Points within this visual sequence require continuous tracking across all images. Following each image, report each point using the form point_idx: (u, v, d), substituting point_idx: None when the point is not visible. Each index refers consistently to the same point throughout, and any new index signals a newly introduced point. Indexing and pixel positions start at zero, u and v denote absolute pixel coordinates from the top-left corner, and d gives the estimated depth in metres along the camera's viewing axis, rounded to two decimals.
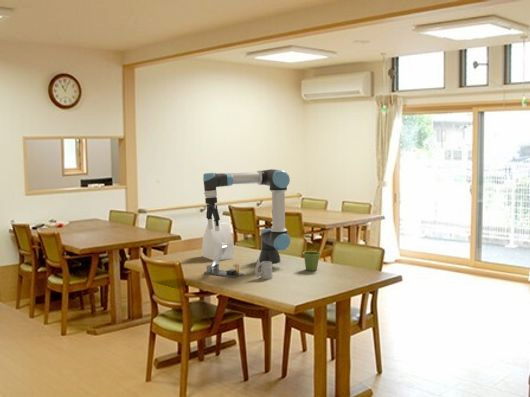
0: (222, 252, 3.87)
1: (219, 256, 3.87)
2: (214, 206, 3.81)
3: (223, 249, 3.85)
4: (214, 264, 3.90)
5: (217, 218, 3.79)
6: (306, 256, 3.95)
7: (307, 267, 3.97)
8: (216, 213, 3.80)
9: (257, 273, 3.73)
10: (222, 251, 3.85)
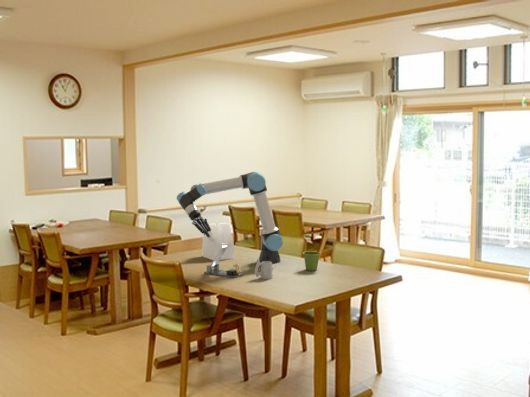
0: (222, 252, 3.87)
1: (219, 256, 3.87)
2: (193, 223, 3.89)
3: (223, 249, 3.85)
4: (214, 264, 3.90)
5: (202, 231, 3.89)
6: (306, 256, 3.95)
7: (307, 267, 3.97)
8: (198, 228, 3.89)
9: (257, 273, 3.73)
10: (222, 251, 3.85)
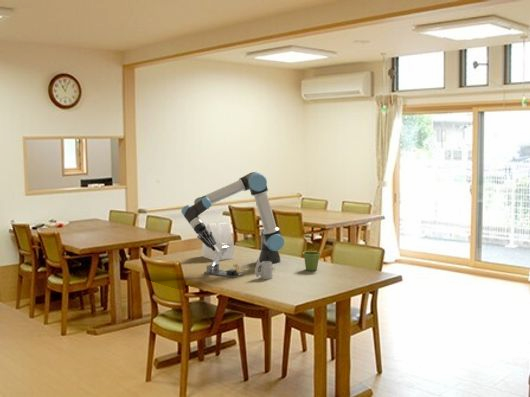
0: (222, 252, 3.86)
1: (219, 256, 3.87)
2: (198, 236, 3.88)
3: (223, 249, 3.84)
4: (214, 264, 3.90)
5: (207, 244, 3.87)
6: (306, 256, 3.95)
7: (307, 267, 3.97)
8: (204, 241, 3.87)
9: (257, 273, 3.73)
10: (222, 251, 3.85)
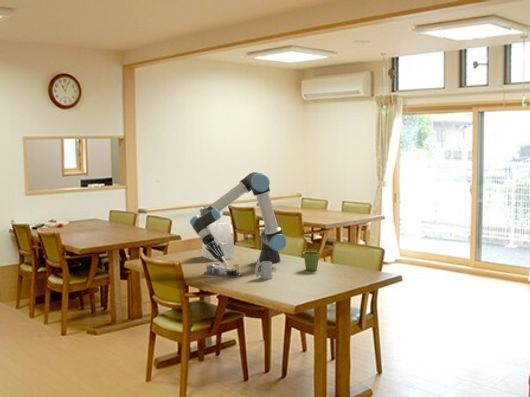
0: None
1: None
2: (206, 248, 3.84)
3: None
4: None
5: (215, 256, 3.84)
6: (306, 256, 3.95)
7: (307, 267, 3.97)
8: (212, 253, 3.84)
9: (257, 273, 3.73)
10: None
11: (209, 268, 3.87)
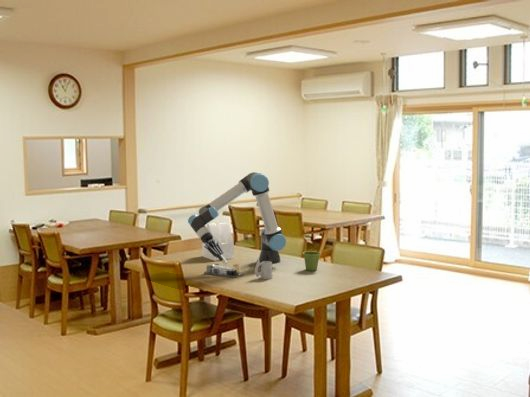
0: None
1: None
2: (205, 246, 3.85)
3: None
4: None
5: (215, 254, 3.85)
6: (306, 256, 3.95)
7: (307, 267, 3.97)
8: (211, 251, 3.85)
9: (257, 273, 3.73)
10: None
11: (209, 268, 3.87)
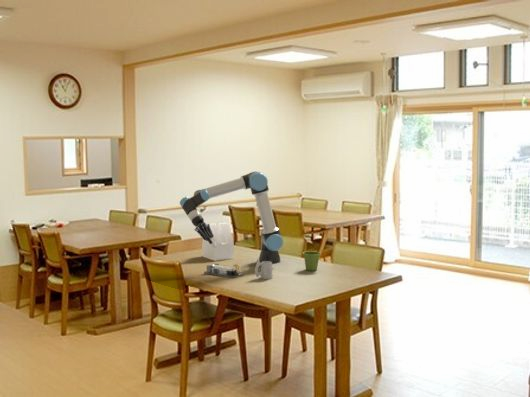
0: None
1: None
2: (195, 229, 3.90)
3: None
4: None
5: (204, 238, 3.90)
6: (306, 256, 3.95)
7: (307, 267, 3.97)
8: (201, 234, 3.90)
9: (257, 273, 3.73)
10: None
11: (209, 268, 3.87)
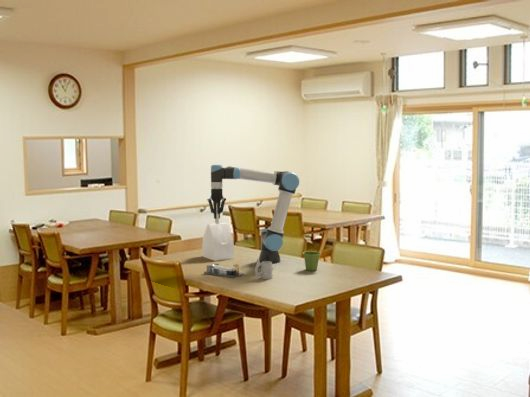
0: None
1: None
2: (208, 200, 4.01)
3: None
4: None
5: (211, 211, 4.03)
6: (306, 256, 3.95)
7: (307, 267, 3.97)
8: (210, 207, 4.02)
9: (257, 273, 3.73)
10: None
11: (209, 268, 3.87)
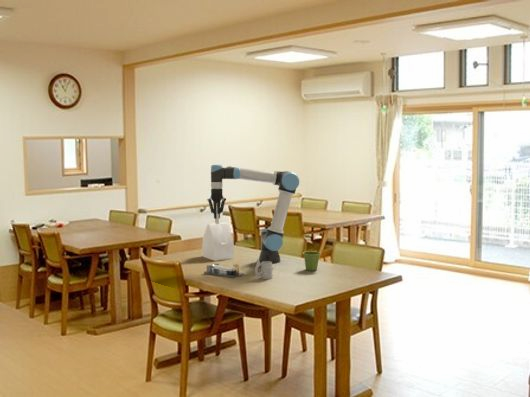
0: None
1: None
2: (208, 200, 4.01)
3: None
4: None
5: (211, 211, 4.03)
6: (306, 256, 3.95)
7: (307, 267, 3.97)
8: (210, 207, 4.02)
9: (257, 273, 3.73)
10: None
11: (209, 268, 3.87)
